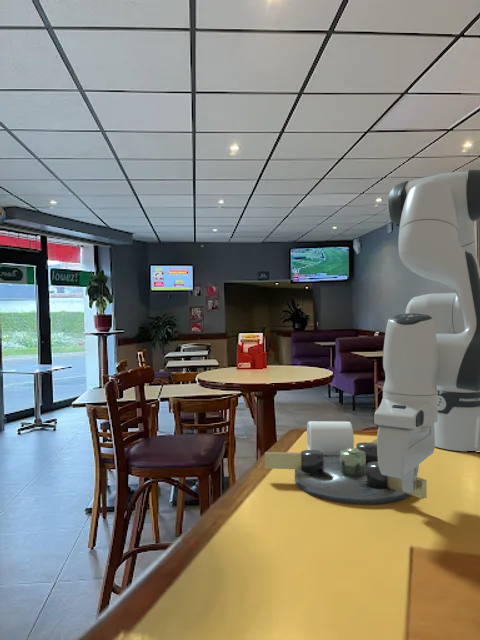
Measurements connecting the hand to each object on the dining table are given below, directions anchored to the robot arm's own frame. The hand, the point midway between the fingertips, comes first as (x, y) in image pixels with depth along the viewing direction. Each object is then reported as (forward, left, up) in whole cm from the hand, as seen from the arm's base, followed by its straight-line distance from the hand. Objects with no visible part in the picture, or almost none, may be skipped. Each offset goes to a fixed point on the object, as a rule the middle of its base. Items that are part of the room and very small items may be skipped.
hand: (409, 490), depth 84 cm
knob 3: (-1, -5, -1) cm, 5 cm away
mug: (-9, -36, -4) cm, 37 cm away
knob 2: (-11, -22, -1) cm, 24 cm away
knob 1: (+9, -22, -1) cm, 24 cm away
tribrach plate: (-1, -16, -4) cm, 16 cm away
